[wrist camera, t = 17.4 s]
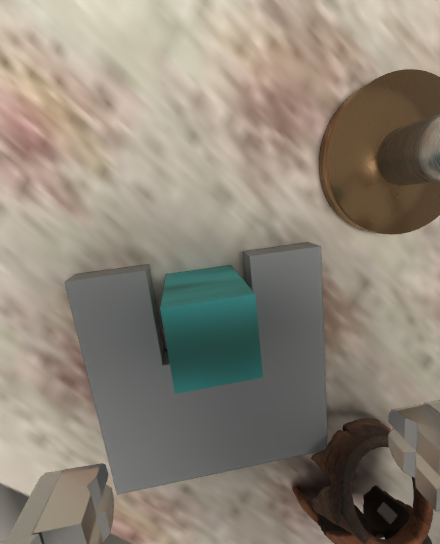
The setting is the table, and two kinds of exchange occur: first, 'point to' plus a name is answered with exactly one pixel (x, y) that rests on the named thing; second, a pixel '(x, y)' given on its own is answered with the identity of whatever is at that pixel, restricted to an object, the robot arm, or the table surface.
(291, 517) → the table surface
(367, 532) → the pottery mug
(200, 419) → the notched board
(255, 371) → the block
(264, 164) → the table surface
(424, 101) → the bobbin post
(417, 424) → the robot arm
